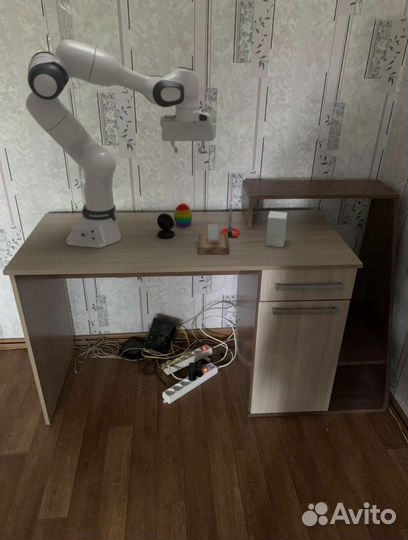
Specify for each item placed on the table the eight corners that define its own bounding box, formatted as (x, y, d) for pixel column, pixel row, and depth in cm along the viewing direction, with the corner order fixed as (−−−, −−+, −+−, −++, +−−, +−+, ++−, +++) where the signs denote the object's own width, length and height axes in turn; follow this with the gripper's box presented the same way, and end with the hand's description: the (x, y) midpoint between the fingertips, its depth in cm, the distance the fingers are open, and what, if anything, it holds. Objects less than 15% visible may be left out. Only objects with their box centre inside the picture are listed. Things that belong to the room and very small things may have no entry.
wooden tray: (198, 254, 160) (198, 243, 158) (198, 241, 170) (198, 231, 168) (228, 254, 160) (229, 243, 158) (227, 241, 170) (227, 231, 168)
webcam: (153, 236, 174) (152, 215, 169) (162, 230, 180) (161, 209, 175) (169, 240, 171) (168, 218, 166) (178, 233, 177) (177, 212, 172)
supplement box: (285, 240, 171) (288, 212, 165) (283, 247, 165) (286, 218, 159) (267, 238, 173) (270, 210, 167) (265, 245, 167) (267, 217, 160)
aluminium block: (208, 243, 161) (208, 229, 158) (208, 237, 166) (208, 224, 163) (218, 243, 161) (218, 229, 158) (217, 237, 166) (218, 224, 163)
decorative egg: (188, 228, 181) (188, 207, 176) (171, 226, 183) (170, 205, 178) (194, 222, 188) (194, 201, 183) (177, 220, 190) (177, 199, 185)
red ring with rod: (222, 229, 182) (219, 237, 174) (223, 201, 176) (220, 208, 168) (240, 230, 181) (239, 238, 173) (242, 202, 175) (240, 209, 167)
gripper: (159, 116, 149) (160, 154, 156) (214, 116, 150) (213, 154, 156) (160, 113, 155) (162, 150, 162) (213, 113, 155) (213, 150, 162)
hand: (188, 152), depth 159 cm, fingers open, 8 cm apart
